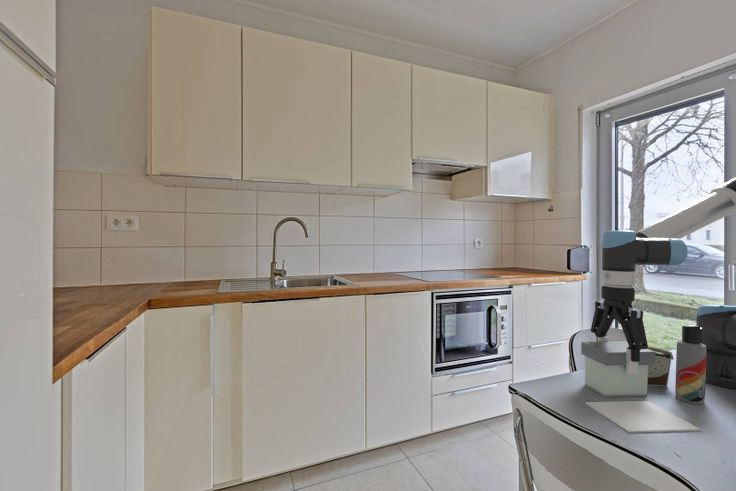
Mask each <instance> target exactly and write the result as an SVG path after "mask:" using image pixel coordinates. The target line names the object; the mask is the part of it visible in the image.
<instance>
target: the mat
mask: <svg viewBox="0 0 736 491" xmlns="http://www.w3.org/2000/svg"><path fill="white" fill-rule="evenodd" d="M585 405H587V406H588V407H589V408H591V409H592V410H594V411H595V412H597V413H598V414H600V415H601V416H603V417H604V418H606V419H607V420H608V421H610V422H611V423H613V424H615V425H616V426H618V427H620V428H621V429H622V430H624V431H625V432H627V433H628V434H632V433H633V434H639V433H640V434H641V433H668V432H669V433H671V432H675V431H676V432H677V433H678V432H701V428H699V427H697V426H695V425H694V424H691V423H690V422H688V421H686V420H684V419H682V418H680V417H678V416H676V415H675V414H673V413H671V412H669V411H667V410H665V409H664V408H661V407H659V406H658V405H656V404H654V403H652V402H651V401H649V400H637V401H636V400H635V401H631V400H630V401H595V402H594V401H592V402H591V401H589V402H585Z"/></svg>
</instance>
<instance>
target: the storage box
mask: <svg viewBox="0 0 736 491" xmlns="http://www.w3.org/2000/svg"><path fill="white" fill-rule="evenodd" d="M584 362H585V364H584V365H585V366H584V368H585V369H584V386H585V387H587V388H588V389H591V390H592V391H594V392H595V393H597V394H599V395H600V396H602V397H604V398H643V397H644V398H645V397H648V385H647V382H648V365H638V373H629V374H628V373H626V365H616V366H606V365H604V364H602V363H600V362H598V361H595V360H593V359H591V358H589V357H587V356H585V360H584Z"/></svg>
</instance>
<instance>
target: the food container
mask: <svg viewBox="0 0 736 491" xmlns="http://www.w3.org/2000/svg"><path fill="white" fill-rule="evenodd" d="M648 349H649V350H652V351H655V365H648V382H647V386H651V387H652V386H653V387H668V383H669V377H670V369H671V363H672V360H673V361H674V360H675V359H674V355H673V353H672V351H668V350H665V349H663V348H662V349H661V348H657V347H653V346H648Z"/></svg>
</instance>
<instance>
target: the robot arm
mask: <svg viewBox="0 0 736 491" xmlns="http://www.w3.org/2000/svg"><path fill="white" fill-rule="evenodd" d="M728 216H736V177H734V178H732V179H730V180H729V181H727V182H724V183H723V184H720V185H719V186H717V187H715V188H713V189H711V191H710V192H709V194H708V195H707V196H705V197H702V198H701V199H699V200H697V201H694V202H693V203H691V204H688V205H687V206H684V207H683V208H681V209H680V210H677V211H675V212H673V213H671V214H669V215H667V216H665V217H663V218H662V219H658V220H657V221H655V222H654V223H652V224H650V225H647V226H646V227H644V228H641V229H639V230H637V231H634V230H607V231H605V232H603V234H602V242H601V284H602V286H601V289H600V290H601V294H600V295H601V296H600V297H601V299H603V301H594V308H595V310H594V312H593V318H592V322H591V326H590V332H591V333H592V334H593V333H594V335H595V336H596V341H595V342H605V341H609V337H608V336H609V335H608V334H607V333H608V331H610V330H609V329H610V328H611V326H612V324H613V322H614V321H615V320H616V321H617V323H618V324H620V326H621V328H622V332H623V335H624V337H625V341H627V342H628V345H629V347H627V348H626V373H628V374H629V373H638V362H639V361H640V350H641V349H648V347H649V344H648V340H647V335H646V334H647V333H646V330H645V324H644V320H643V319H644V310H642V309H635V308H633V305H632V303H633V302H635V298H636V288H635V286H636V266H665V267H669V266H680V265H682V264H683V263H685V261H686V260H687V258H688V249H689V248H688V246H687V245H686V243H685V242H684V241H683V240H682V239H683V238H684V237H686V236H689V235H690V234H692V233H695V232H696V231H698V230H700V229H702V228H705V227H706V226H709V225H711V224H713V223H715V222H717V221H719V220H721V219H723V218H725V217H728ZM695 318H696V324H695V326H700V327H701V328H702V341H701V344H704V345H706V379H705V383H708V384H711V385H715V386H720V387H722V388H723V387H724V388H728V389H729V388H730V389H734V390H736V305H725V304H723V305H722V304H700V305H699V306H698V307H697V312H696V315H695ZM634 344H635V345H634Z"/></svg>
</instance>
